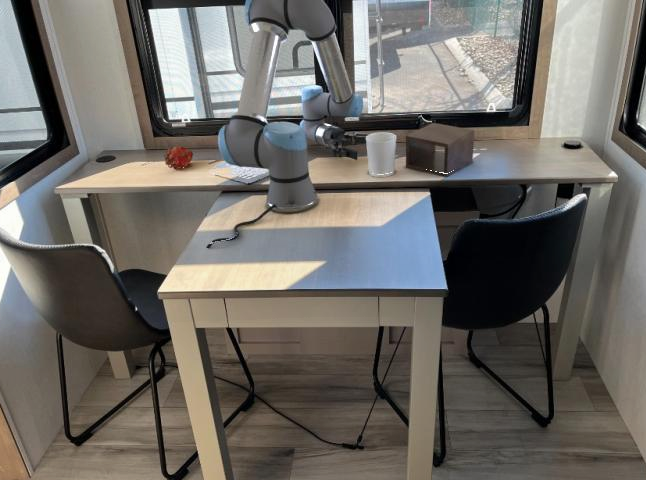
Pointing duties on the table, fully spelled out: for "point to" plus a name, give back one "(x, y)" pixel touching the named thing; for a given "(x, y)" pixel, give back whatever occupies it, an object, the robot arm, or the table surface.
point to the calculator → (243, 171)
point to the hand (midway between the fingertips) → (371, 150)
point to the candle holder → (381, 153)
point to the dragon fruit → (178, 157)
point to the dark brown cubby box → (426, 157)
